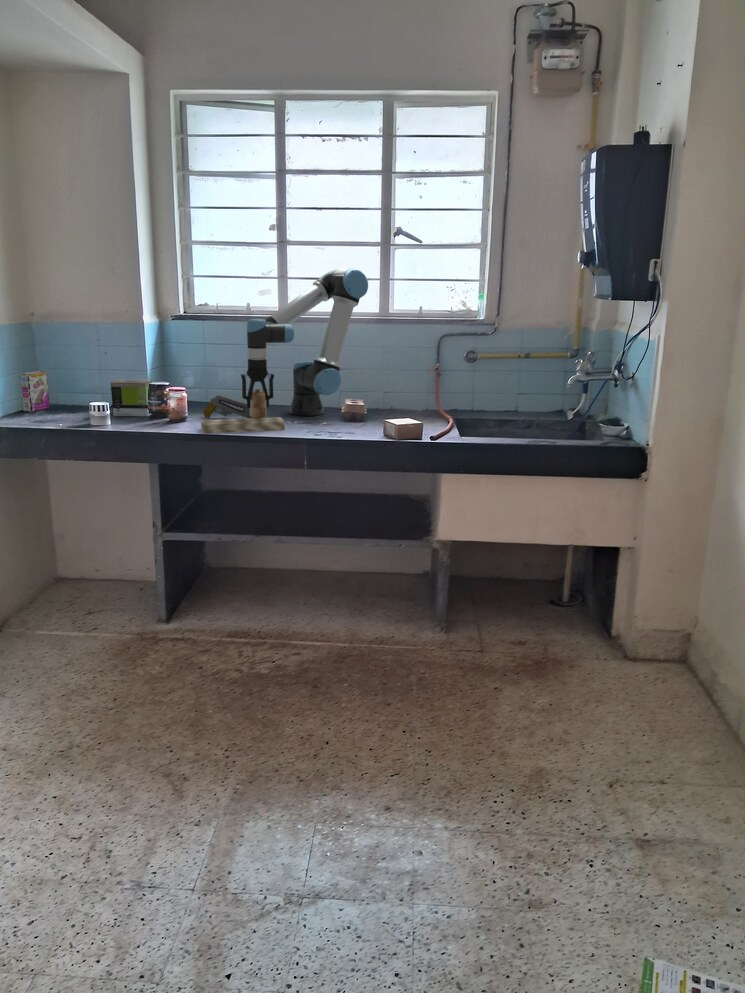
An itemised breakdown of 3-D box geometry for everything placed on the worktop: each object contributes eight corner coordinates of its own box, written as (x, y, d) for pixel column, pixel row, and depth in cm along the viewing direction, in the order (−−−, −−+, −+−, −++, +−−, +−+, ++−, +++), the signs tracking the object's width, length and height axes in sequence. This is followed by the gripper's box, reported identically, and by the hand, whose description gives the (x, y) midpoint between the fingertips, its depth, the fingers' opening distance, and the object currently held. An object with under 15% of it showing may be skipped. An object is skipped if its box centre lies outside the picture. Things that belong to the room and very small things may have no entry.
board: (280, 425, 302) (280, 417, 301) (284, 429, 293) (284, 421, 292) (201, 428, 292) (200, 420, 291) (203, 433, 284) (203, 424, 283)
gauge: (263, 417, 304) (262, 388, 301) (268, 423, 293) (268, 393, 290) (251, 417, 303) (250, 388, 299) (256, 423, 292) (255, 393, 288)
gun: (252, 440, 313) (264, 409, 308) (200, 416, 313) (211, 384, 308) (255, 438, 316) (267, 407, 311) (203, 414, 316) (214, 383, 311)
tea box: (154, 413, 321) (152, 379, 317) (147, 417, 311) (145, 382, 307) (120, 412, 321) (118, 378, 317) (112, 416, 312) (109, 381, 307)
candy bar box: (32, 412, 315) (27, 374, 310) (23, 411, 316) (18, 373, 311) (50, 408, 325) (46, 371, 320) (41, 407, 327) (37, 370, 322)
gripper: (277, 357, 300) (277, 413, 307) (233, 357, 294) (234, 414, 301) (281, 359, 293) (281, 416, 300) (235, 359, 288) (237, 418, 295)
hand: (258, 415), depth 301 cm, fingers closed on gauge, 5 cm apart
